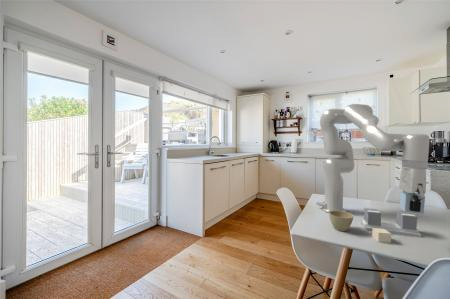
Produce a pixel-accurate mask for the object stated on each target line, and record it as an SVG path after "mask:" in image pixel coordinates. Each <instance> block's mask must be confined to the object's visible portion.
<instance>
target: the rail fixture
mask: <svg viewBox="0 0 450 299" xmlns="http://www.w3.org/2000/svg"><path fill="white" fill-rule="evenodd" d="M363 211H364V212H363V219H362V220H360V224H361V225H362V227H363V228H364V229H365V230H366V231H370V232H373V228H379V229H385V230H387V231H388V232H390V233H391V235H392V234H393V235H401V236H410V237H417V238H422V233H420V231H419V229H418V227H417V226H418V216H416V215H415V214H414V213H412V212H405V211H400V210H399V211H398V210H397V211H396V220H395V221H396V222H395V223H393V222H383V221H382V213H381V212H380V211H379V210H378V209H377V208H370V207H369V208H367V207H364V210H363Z"/></svg>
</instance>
